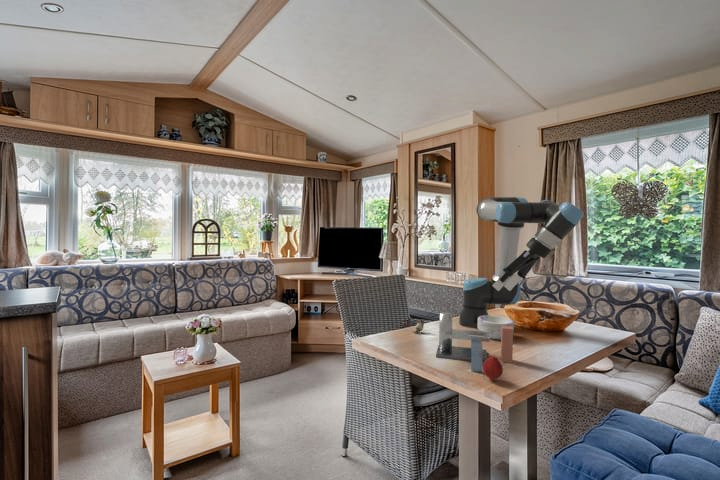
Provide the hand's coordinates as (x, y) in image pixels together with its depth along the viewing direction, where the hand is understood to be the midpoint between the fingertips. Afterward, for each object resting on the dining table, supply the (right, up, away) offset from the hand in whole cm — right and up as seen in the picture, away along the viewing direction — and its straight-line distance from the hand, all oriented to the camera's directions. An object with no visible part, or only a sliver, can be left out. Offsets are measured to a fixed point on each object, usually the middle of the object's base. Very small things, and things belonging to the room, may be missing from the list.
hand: (501, 288), depth 128 cm
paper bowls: (+9, -26, +30) cm, 41 cm away
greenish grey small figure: (-24, -25, +35) cm, 49 cm away
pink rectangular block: (+1, -26, -1) cm, 26 cm away
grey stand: (-14, -26, 0) cm, 29 cm away
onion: (-10, -26, -18) cm, 34 cm away
